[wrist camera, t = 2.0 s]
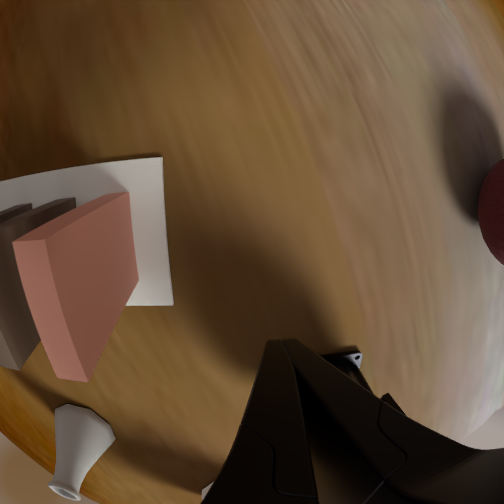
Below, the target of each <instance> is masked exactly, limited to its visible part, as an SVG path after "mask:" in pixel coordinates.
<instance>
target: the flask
mask: <svg viewBox="0 0 504 504" xmlns="http://www.w3.org/2000/svg"><path fill="white" fill-rule="evenodd" d="M55 432H56V456H57V457H56V467H55V474H54V477H53V480H52V482H49V483H48V486H49V487H50V488H51V489H52V490H53V491H54V492H56V493H58V494H59V495H61V496H63V497H66V498H68V499H71V500H80V498H81V497H80V495H79V489H80V486H81V483H82V481H83V479H84V477H85V475H86V473H87V472H88V470H89V469H90V468H91V467H92V466H93V464H94V463H95V462H96V461H97V460H98V458H99V457H100V456H101V455H102V454H103V453H104V452H105V451H106V450H107V448H108V447H109V446H110V445H111V444H112V443H113V442H114V440H115V436H114V434H113V431H112V429H111V426H110V425H109V424H108V423H107V422H105V421H104V420H103V419H102V418H100V417H99V416H98V415H97V414H95V413H94V412H93V411H92V410H91V409H86V408H82V407H78V406H74V405H70V404H66V405H63V406H61V407H59V408H56V409H55Z"/></svg>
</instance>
